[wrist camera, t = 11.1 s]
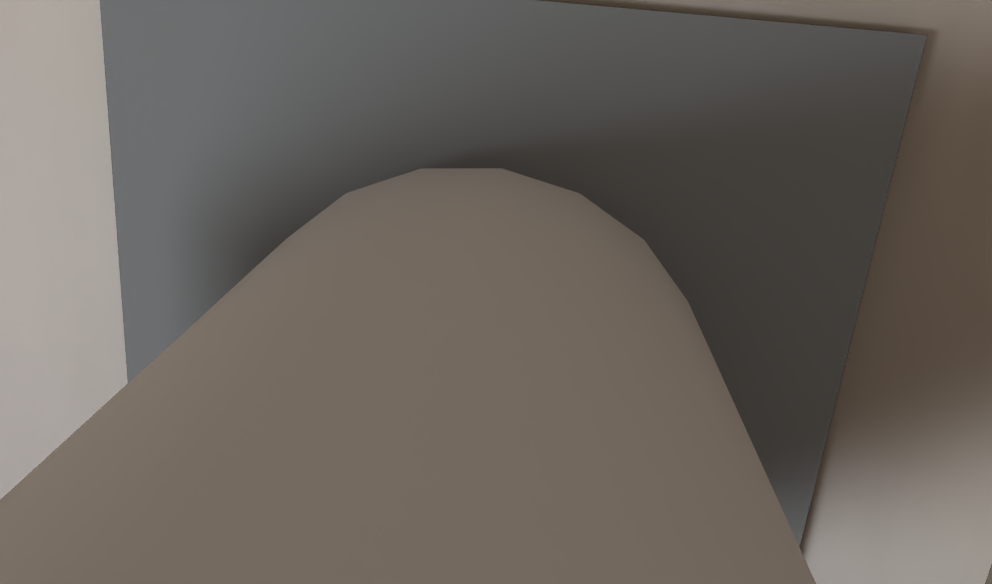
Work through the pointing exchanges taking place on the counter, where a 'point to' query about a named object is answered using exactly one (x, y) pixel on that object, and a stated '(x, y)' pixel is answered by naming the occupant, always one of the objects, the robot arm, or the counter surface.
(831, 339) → the mat
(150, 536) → the can
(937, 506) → the counter surface
